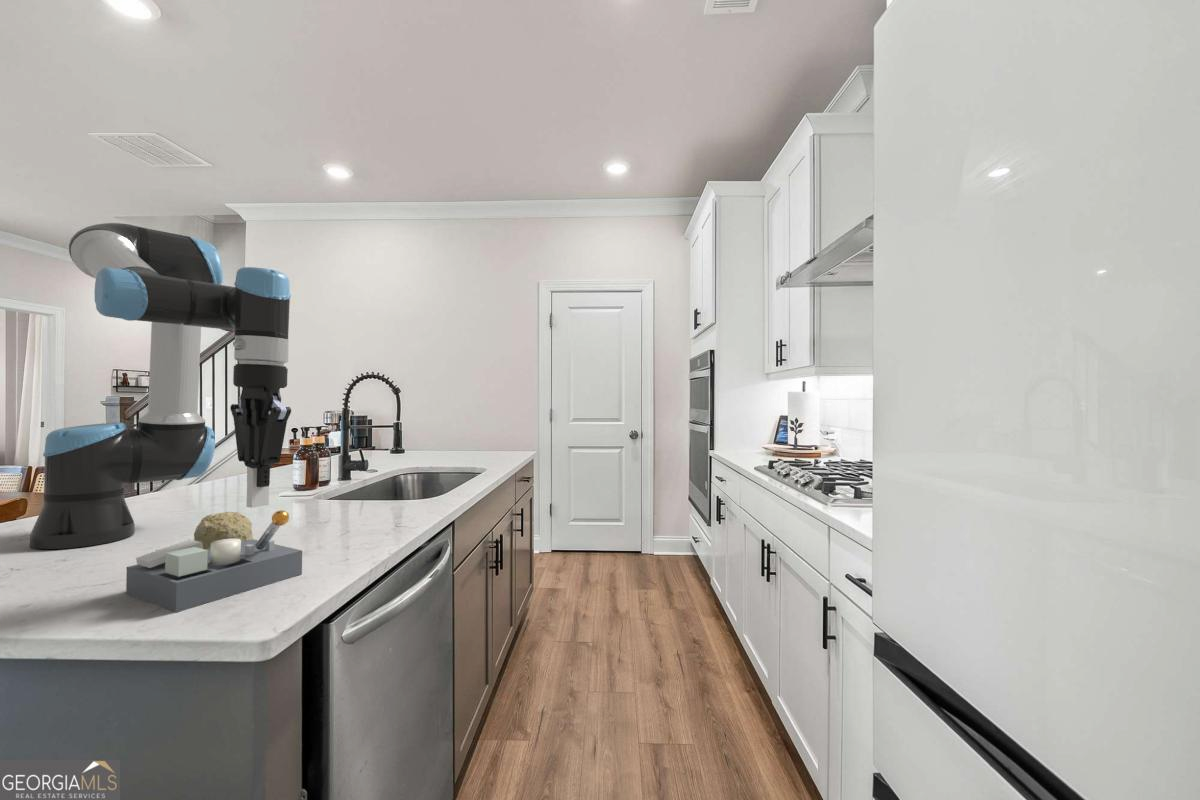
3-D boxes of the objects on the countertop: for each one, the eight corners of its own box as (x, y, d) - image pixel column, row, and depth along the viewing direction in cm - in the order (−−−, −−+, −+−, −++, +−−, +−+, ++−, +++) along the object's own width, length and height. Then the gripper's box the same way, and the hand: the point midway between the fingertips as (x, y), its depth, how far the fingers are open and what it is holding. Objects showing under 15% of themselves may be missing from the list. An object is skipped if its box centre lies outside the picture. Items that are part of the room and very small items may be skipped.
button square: (165, 572, 75) (165, 552, 75) (193, 565, 78) (194, 546, 78) (178, 576, 73) (178, 556, 73) (207, 569, 77) (207, 550, 77)
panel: (126, 593, 78) (126, 554, 78) (252, 561, 94) (252, 529, 94) (176, 612, 72) (176, 569, 72) (301, 574, 88) (302, 539, 88)
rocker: (137, 564, 78) (135, 558, 78) (190, 544, 84) (189, 539, 84) (149, 568, 76) (148, 561, 76) (203, 548, 82) (201, 542, 82)
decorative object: (251, 564, 103) (236, 519, 106) (268, 544, 98) (251, 497, 101) (195, 581, 96) (180, 532, 98) (209, 561, 90) (193, 509, 93)
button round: (204, 562, 80) (205, 543, 80) (231, 556, 83) (232, 537, 83) (218, 566, 78) (219, 546, 78) (245, 559, 81) (246, 540, 81)
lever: (249, 541, 86) (273, 508, 83) (264, 538, 88) (288, 506, 85) (255, 553, 85) (279, 520, 82) (270, 550, 87) (294, 517, 84)
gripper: (214, 362, 86) (210, 504, 87) (261, 362, 80) (257, 515, 81) (260, 365, 93) (257, 497, 93) (308, 365, 87) (304, 506, 87)
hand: (257, 505), depth 87 cm, fingers closed
